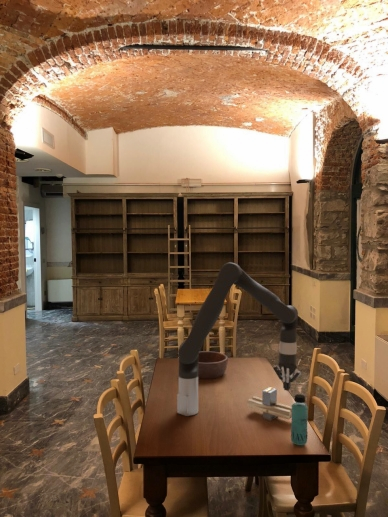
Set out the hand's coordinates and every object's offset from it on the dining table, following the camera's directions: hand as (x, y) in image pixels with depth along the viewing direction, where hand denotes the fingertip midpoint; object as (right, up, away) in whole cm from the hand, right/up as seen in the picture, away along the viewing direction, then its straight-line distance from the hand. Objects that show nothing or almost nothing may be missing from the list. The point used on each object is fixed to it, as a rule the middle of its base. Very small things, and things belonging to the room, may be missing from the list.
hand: (286, 389), depth 185 cm
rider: (-6, -10, +6) cm, 13 cm away
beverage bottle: (+1, -16, -19) cm, 25 cm away
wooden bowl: (-33, -11, +66) cm, 75 cm away
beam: (-6, -14, +6) cm, 17 cm away
